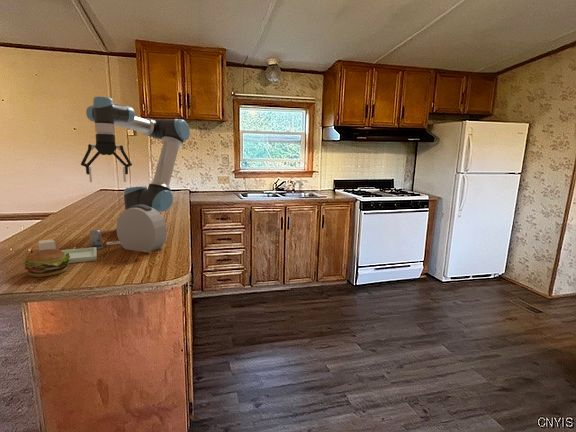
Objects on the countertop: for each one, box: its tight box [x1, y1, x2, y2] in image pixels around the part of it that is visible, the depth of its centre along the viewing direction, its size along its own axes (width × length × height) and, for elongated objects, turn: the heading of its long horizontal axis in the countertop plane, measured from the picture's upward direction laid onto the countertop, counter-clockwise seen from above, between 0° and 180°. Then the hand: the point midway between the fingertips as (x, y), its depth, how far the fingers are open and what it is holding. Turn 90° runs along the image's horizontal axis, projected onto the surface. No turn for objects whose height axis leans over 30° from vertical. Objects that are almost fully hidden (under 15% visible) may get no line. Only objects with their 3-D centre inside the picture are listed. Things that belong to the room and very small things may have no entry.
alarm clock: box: [116, 204, 168, 253], centre depth 154 cm, size 21×8×20 cm, turn 71°
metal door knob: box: [89, 228, 104, 251], centre depth 153 cm, size 5×5×8 cm
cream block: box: [37, 238, 57, 251], centre depth 145 cm, size 5×5×5 cm
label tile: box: [106, 240, 121, 246], centre depth 162 cm, size 6×4×1 cm, turn 118°
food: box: [22, 248, 70, 278], centre depth 123 cm, size 14×14×8 cm
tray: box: [60, 247, 98, 264], centre depth 140 cm, size 14×14×2 cm
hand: (108, 181), depth 157 cm, fingers open, 13 cm apart
